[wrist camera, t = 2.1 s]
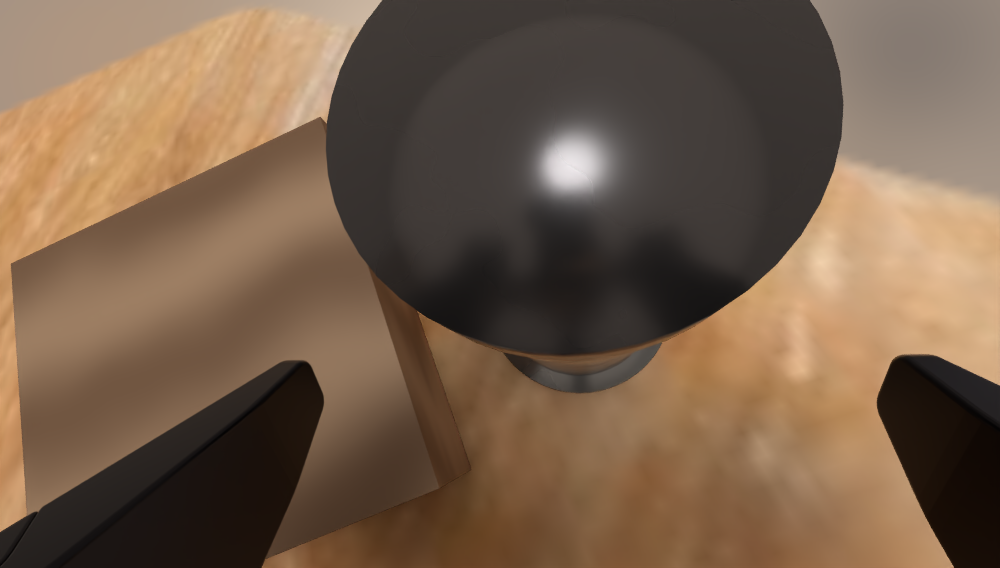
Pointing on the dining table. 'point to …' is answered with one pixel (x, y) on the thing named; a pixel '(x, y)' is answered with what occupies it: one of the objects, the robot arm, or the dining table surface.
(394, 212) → the cylinder
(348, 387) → the stand
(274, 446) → the robot arm
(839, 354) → the dining table surface
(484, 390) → the dining table surface
